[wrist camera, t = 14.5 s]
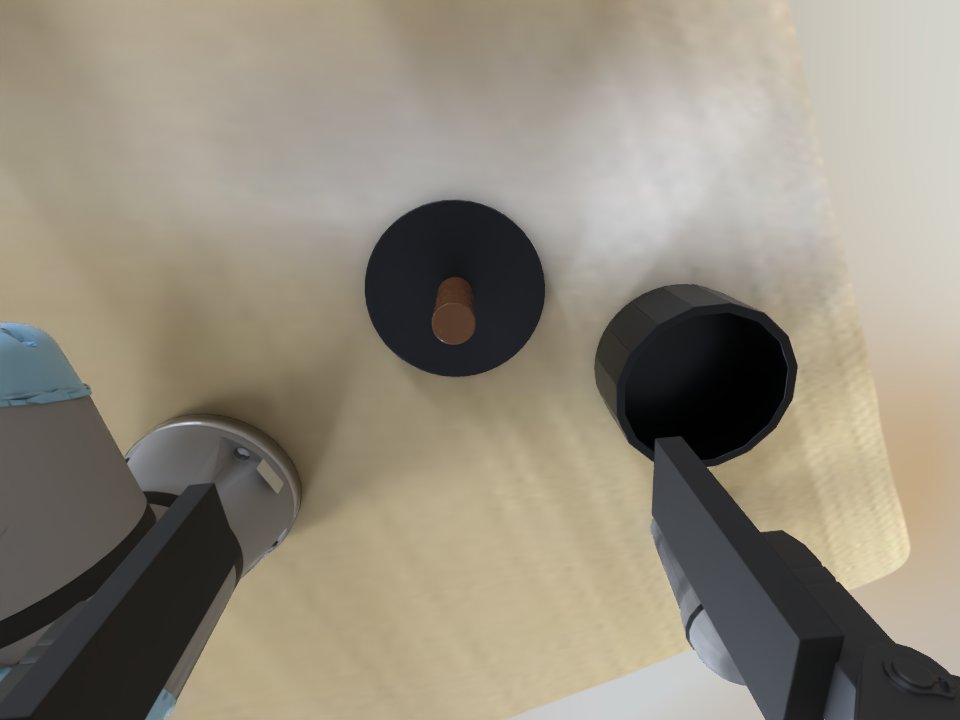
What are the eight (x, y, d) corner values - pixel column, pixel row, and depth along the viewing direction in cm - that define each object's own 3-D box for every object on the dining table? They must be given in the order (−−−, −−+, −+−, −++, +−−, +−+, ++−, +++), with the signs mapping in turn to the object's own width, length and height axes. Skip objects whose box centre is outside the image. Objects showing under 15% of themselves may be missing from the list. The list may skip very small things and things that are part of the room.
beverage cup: (721, 504, 48) (884, 714, 30) (690, 560, 51) (822, 786, 32) (654, 488, 47) (778, 695, 29) (625, 546, 50) (723, 771, 31)
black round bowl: (595, 435, 45) (615, 476, 39) (593, 292, 40) (616, 314, 34) (740, 420, 45) (783, 459, 39) (756, 276, 40) (808, 294, 34)
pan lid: (383, 380, 42) (363, 432, 34) (351, 209, 37) (318, 220, 29) (546, 363, 42) (568, 411, 34) (537, 189, 37) (560, 195, 28)
